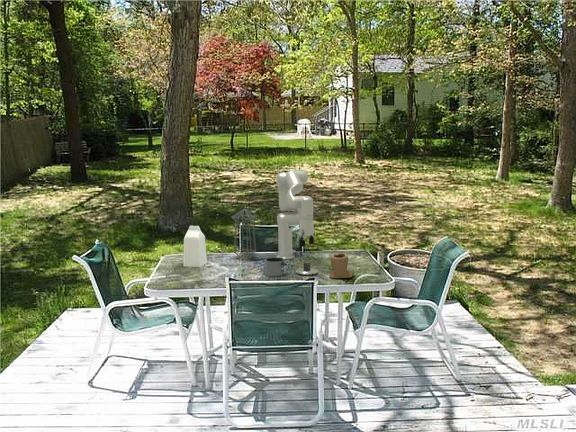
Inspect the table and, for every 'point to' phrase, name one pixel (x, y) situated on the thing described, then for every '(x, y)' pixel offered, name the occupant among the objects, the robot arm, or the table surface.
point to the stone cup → (340, 266)
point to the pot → (274, 266)
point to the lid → (306, 270)
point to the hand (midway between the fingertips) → (307, 245)
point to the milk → (194, 248)
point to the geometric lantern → (242, 232)
